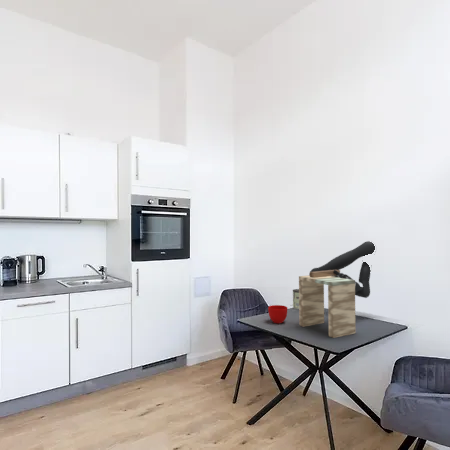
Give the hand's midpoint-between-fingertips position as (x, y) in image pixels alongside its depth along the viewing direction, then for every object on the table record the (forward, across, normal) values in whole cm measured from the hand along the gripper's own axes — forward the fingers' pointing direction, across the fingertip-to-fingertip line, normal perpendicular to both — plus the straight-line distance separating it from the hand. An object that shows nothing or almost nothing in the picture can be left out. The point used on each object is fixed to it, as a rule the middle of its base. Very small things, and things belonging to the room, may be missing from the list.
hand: (331, 270), depth 228 cm
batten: (+3, 0, +5) cm, 6 cm away
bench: (-7, +7, +36) cm, 38 cm away
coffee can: (-27, -46, +25) cm, 59 cm away
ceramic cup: (+6, -23, +44) cm, 50 cm away
